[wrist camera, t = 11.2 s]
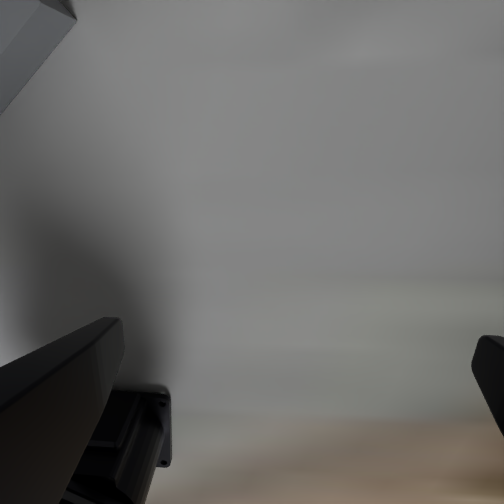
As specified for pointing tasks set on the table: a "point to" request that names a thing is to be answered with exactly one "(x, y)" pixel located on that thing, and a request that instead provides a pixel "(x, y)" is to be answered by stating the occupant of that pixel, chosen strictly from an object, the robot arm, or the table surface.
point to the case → (28, 40)
